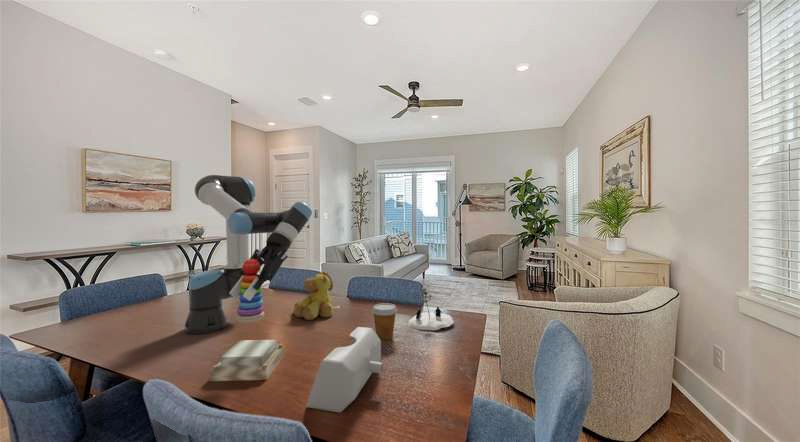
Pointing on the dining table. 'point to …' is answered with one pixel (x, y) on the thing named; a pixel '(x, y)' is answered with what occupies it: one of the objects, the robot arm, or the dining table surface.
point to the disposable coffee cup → (384, 320)
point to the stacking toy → (254, 307)
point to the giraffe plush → (316, 298)
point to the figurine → (430, 317)
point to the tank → (346, 371)
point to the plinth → (248, 370)
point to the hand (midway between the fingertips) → (239, 296)
